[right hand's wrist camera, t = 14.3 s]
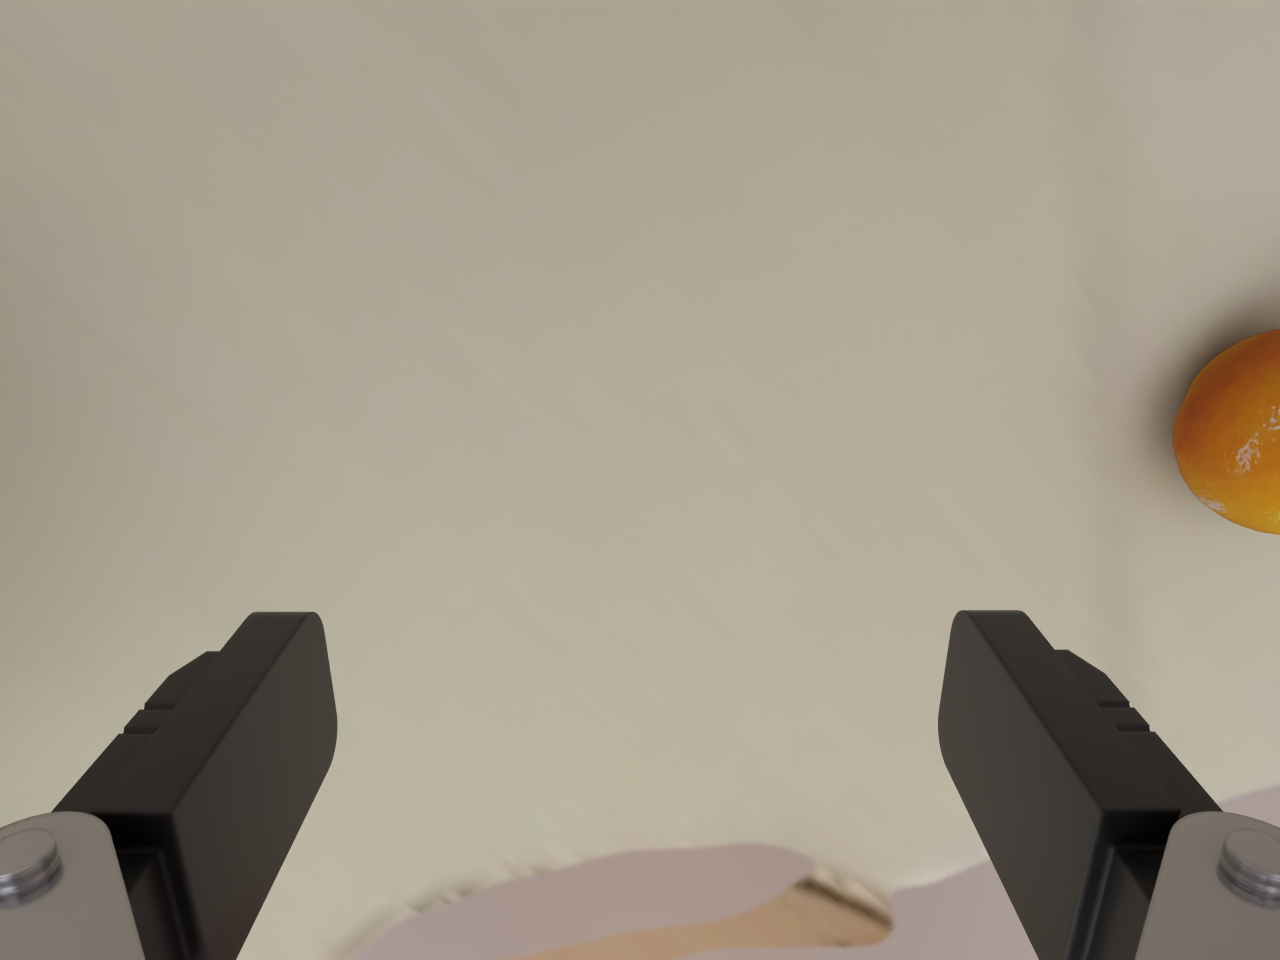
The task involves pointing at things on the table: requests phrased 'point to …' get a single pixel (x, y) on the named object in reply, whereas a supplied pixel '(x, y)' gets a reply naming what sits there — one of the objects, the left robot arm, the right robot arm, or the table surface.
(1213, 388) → the fruit
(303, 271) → the table surface
